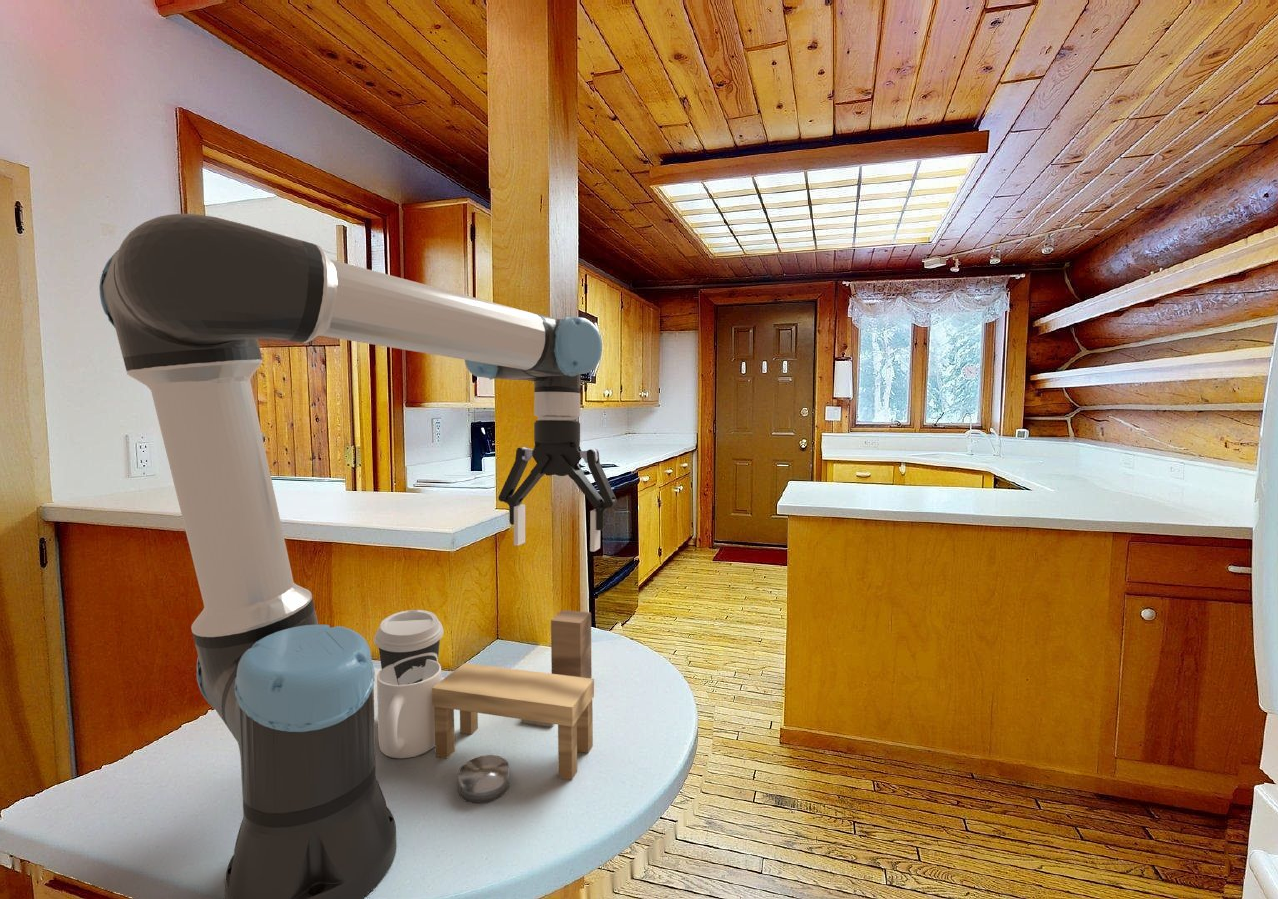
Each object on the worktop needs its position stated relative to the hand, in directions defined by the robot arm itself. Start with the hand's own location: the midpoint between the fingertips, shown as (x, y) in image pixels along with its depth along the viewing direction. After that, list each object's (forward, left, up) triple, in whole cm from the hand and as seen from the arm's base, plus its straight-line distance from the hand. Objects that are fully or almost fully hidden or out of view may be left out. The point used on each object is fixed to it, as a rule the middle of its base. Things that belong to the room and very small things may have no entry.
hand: (556, 547), depth 98 cm
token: (-28, -2, -24) cm, 36 cm away
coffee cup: (-15, +18, -23) cm, 33 cm away
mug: (-23, +13, -24) cm, 36 cm away
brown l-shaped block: (-4, -2, -24) cm, 24 cm away
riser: (-19, -2, -24) cm, 31 cm away
